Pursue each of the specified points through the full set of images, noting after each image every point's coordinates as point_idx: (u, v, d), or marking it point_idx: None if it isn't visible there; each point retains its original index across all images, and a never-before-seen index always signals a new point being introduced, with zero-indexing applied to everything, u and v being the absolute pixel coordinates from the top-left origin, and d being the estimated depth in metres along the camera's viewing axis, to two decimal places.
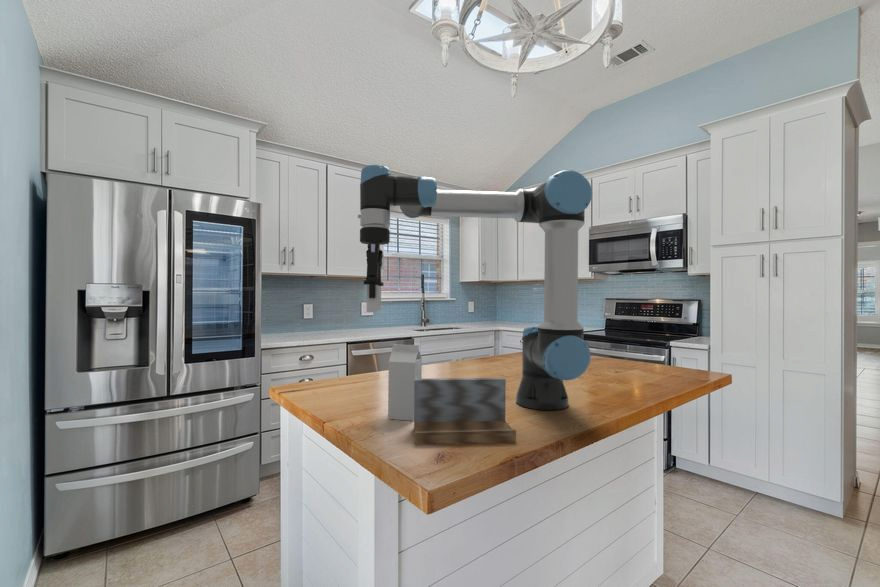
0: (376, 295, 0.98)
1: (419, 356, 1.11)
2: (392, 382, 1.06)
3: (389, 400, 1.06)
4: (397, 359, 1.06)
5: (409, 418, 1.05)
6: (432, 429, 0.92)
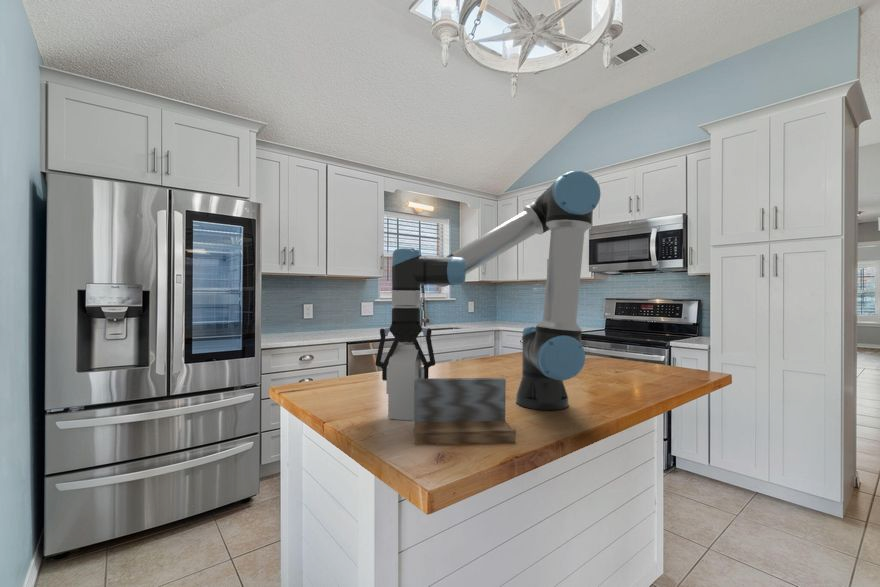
0: (386, 378, 1.08)
1: (419, 356, 1.11)
2: (392, 382, 1.06)
3: (389, 400, 1.06)
4: (397, 359, 1.06)
5: (409, 418, 1.05)
6: (432, 429, 0.92)
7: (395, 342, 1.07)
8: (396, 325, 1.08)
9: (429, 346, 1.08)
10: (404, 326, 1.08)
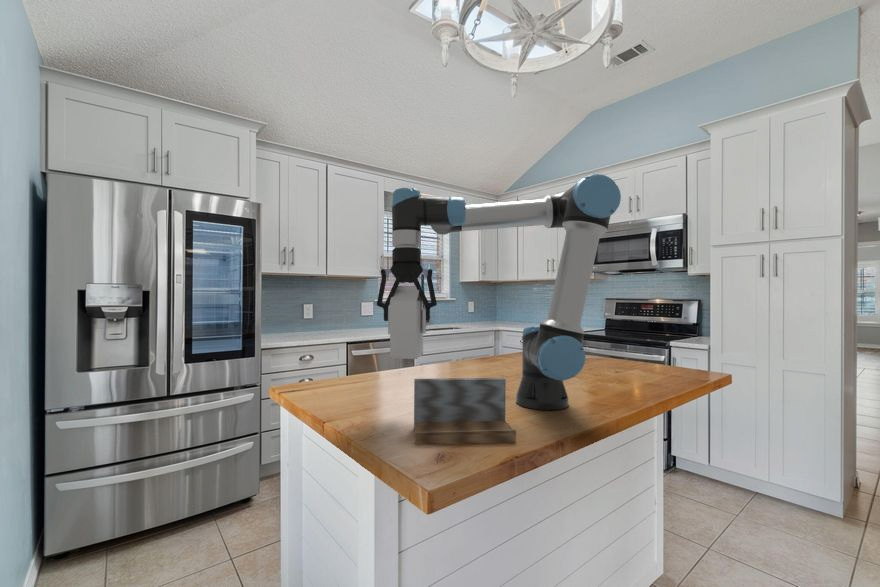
0: (388, 318, 1.08)
1: (420, 298, 1.11)
2: (394, 322, 1.06)
3: (391, 340, 1.06)
4: (398, 299, 1.06)
5: (411, 357, 1.05)
6: (432, 429, 0.92)
7: (396, 282, 1.07)
8: (397, 265, 1.08)
9: (430, 286, 1.08)
10: (405, 266, 1.08)
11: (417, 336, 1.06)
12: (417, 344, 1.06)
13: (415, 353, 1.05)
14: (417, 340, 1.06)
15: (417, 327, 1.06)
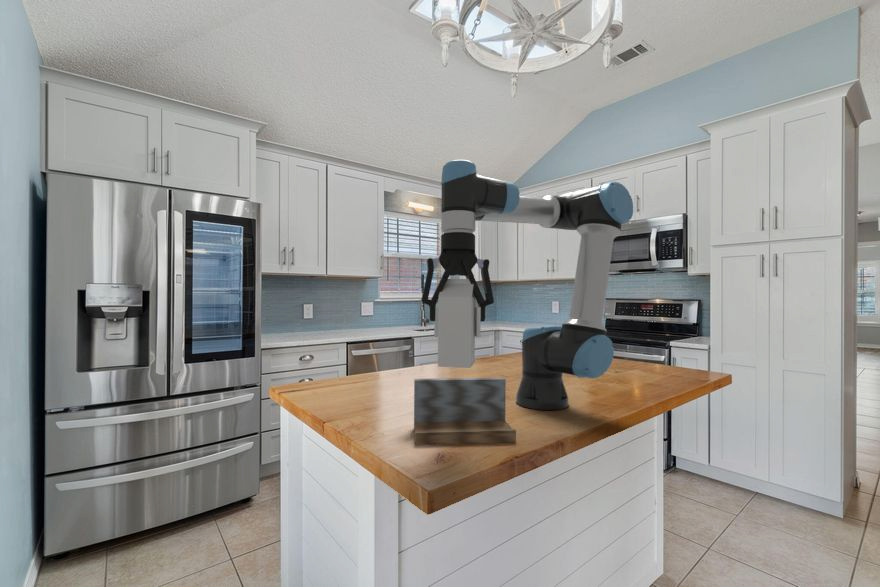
0: (435, 318, 0.89)
1: (473, 294, 0.92)
2: (443, 322, 0.87)
3: (439, 344, 0.87)
4: (449, 294, 0.88)
5: (464, 365, 0.86)
6: (432, 429, 0.92)
7: (446, 274, 0.88)
8: (447, 254, 0.89)
9: (486, 280, 0.90)
10: (456, 255, 0.89)
11: (471, 340, 0.87)
12: (471, 350, 0.87)
13: (469, 361, 0.86)
14: (471, 345, 0.87)
15: (471, 329, 0.87)
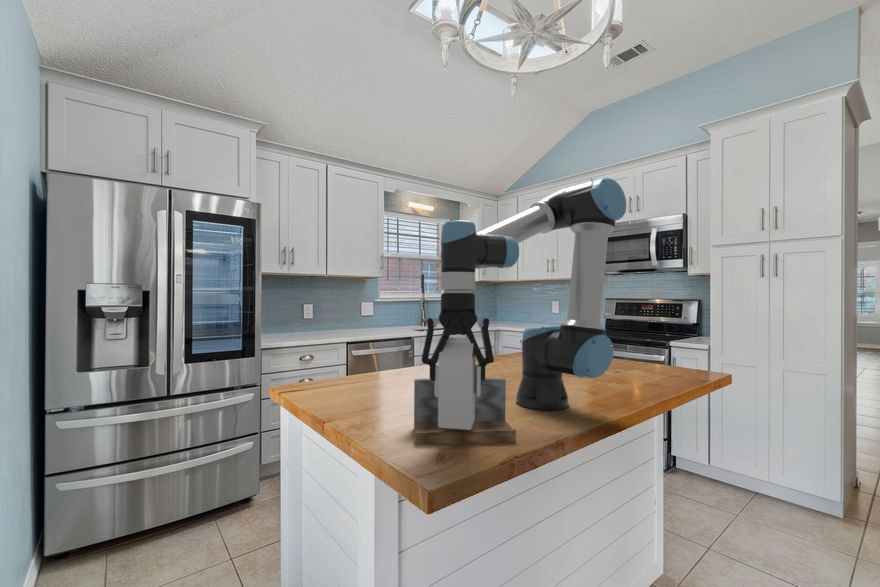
0: (435, 378, 0.89)
1: None
2: (443, 383, 0.87)
3: (439, 405, 0.87)
4: (449, 355, 0.88)
5: (464, 427, 0.86)
6: (432, 429, 0.92)
7: (446, 334, 0.88)
8: (447, 314, 0.89)
9: (486, 339, 0.90)
10: (456, 315, 0.89)
11: (471, 401, 0.87)
12: (471, 411, 0.87)
13: (469, 422, 0.86)
14: (471, 406, 0.87)
15: (471, 390, 0.87)
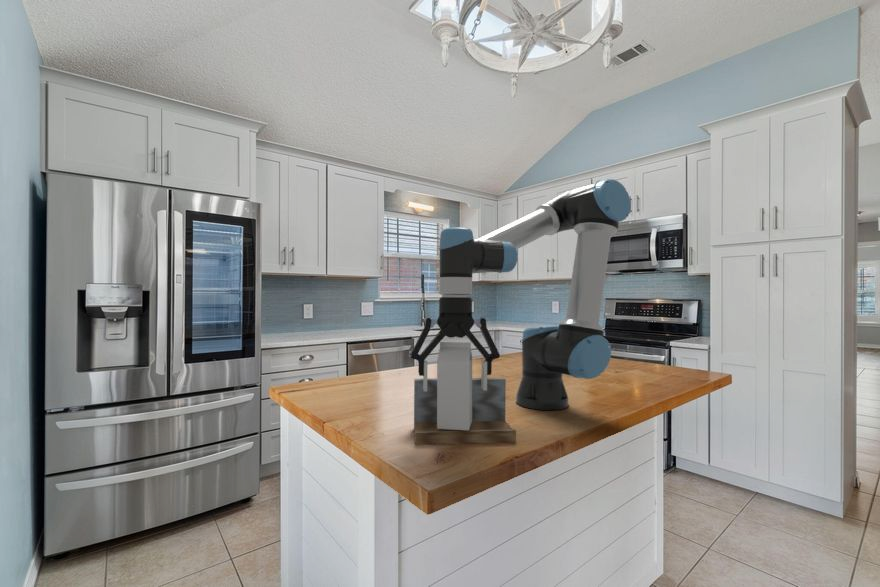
0: (424, 373, 0.92)
1: (470, 356, 0.96)
2: (442, 386, 0.91)
3: (438, 407, 0.91)
4: (447, 359, 0.91)
5: (462, 428, 0.90)
6: (432, 429, 0.92)
7: (441, 335, 0.92)
8: (446, 318, 0.92)
9: (488, 337, 0.93)
10: (454, 322, 0.93)
11: (469, 403, 0.91)
12: (469, 412, 0.90)
13: (467, 423, 0.90)
14: (469, 408, 0.91)
15: (469, 392, 0.91)
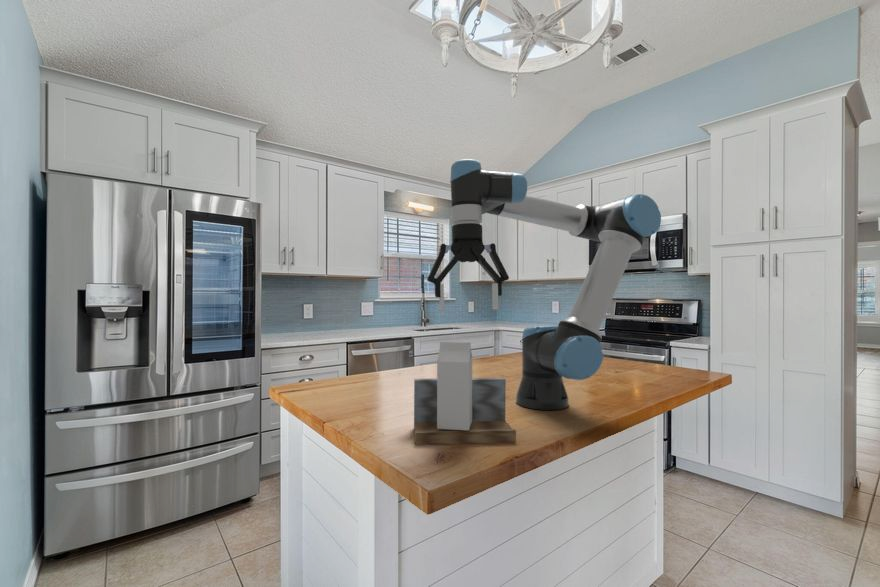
0: (440, 294, 1.00)
1: (470, 356, 0.96)
2: (442, 386, 0.91)
3: (438, 407, 0.91)
4: (447, 359, 0.91)
5: (462, 428, 0.90)
6: (432, 429, 0.92)
7: (455, 259, 1.00)
8: (459, 244, 1.00)
9: (497, 261, 1.02)
10: (467, 247, 1.01)
11: (469, 403, 0.91)
12: (469, 412, 0.90)
13: (467, 423, 0.90)
14: (469, 408, 0.91)
15: (469, 392, 0.91)
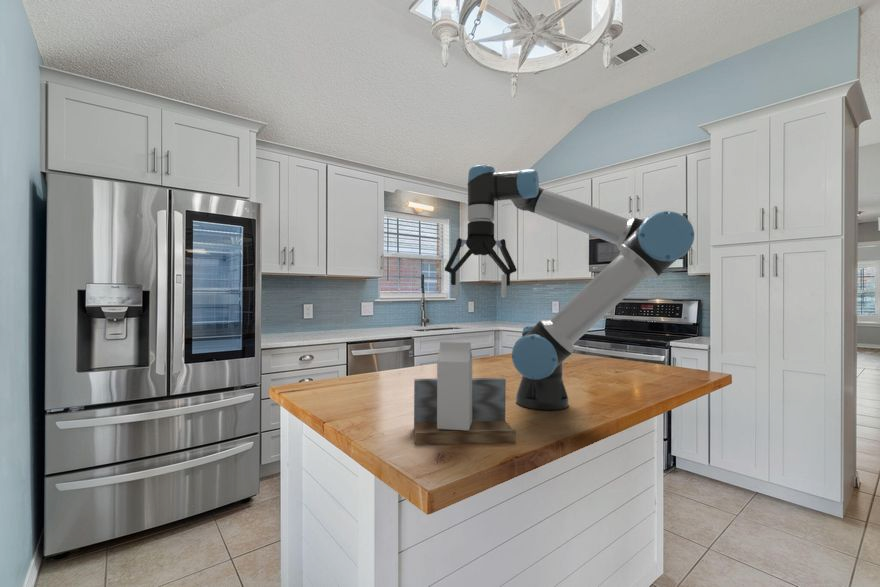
0: (455, 282, 1.14)
1: (470, 356, 0.96)
2: (442, 386, 0.91)
3: (438, 407, 0.91)
4: (447, 359, 0.91)
5: (462, 428, 0.90)
6: (432, 429, 0.92)
7: (469, 252, 1.14)
8: (473, 239, 1.15)
9: (507, 255, 1.16)
10: (480, 242, 1.15)
11: (469, 403, 0.91)
12: (469, 412, 0.91)
13: (467, 423, 0.90)
14: (469, 408, 0.91)
15: (469, 392, 0.91)
